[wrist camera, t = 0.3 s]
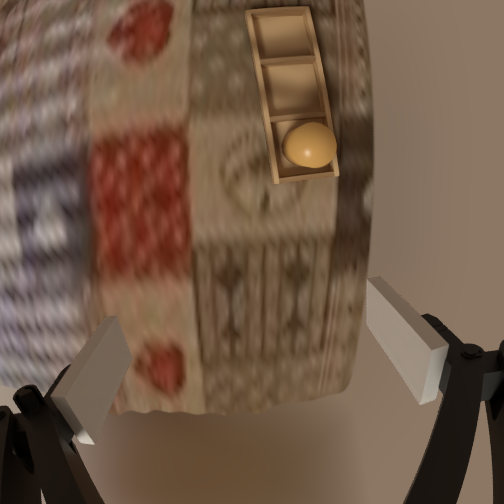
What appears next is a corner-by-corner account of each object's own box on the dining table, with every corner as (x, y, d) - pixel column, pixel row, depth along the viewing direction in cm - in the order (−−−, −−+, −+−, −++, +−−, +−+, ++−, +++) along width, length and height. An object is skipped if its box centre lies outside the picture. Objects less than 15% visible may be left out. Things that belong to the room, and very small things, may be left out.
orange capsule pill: (278, 130, 38) (288, 124, 30) (315, 126, 38) (333, 120, 30) (284, 167, 39) (294, 170, 32) (320, 163, 39) (339, 165, 32)
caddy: (245, 17, 33) (245, 10, 31) (304, 13, 33) (308, 6, 31) (272, 182, 40) (274, 183, 38) (333, 174, 40) (339, 175, 38)
